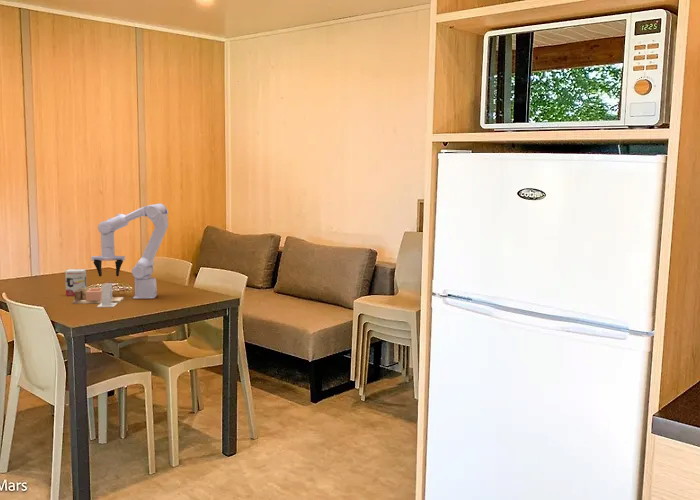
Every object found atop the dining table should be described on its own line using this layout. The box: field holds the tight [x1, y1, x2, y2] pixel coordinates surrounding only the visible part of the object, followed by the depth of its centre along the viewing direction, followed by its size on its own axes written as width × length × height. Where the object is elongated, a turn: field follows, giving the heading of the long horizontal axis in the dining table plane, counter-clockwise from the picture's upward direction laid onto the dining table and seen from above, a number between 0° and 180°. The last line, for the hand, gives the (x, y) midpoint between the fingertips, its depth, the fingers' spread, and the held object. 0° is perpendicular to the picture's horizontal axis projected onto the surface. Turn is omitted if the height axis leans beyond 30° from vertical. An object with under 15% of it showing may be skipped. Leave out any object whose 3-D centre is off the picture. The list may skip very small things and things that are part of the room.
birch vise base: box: [71, 287, 125, 305], centre depth 294 cm, size 20×8×6 cm, turn 96°
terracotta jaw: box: [86, 287, 102, 301], centre depth 293 cm, size 6×8×4 cm
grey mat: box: [96, 303, 119, 308], centre depth 286 cm, size 7×7×1 cm
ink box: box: [64, 268, 88, 297], centre depth 307 cm, size 9×5×12 cm, turn 101°
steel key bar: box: [100, 282, 113, 306], centre depth 285 cm, size 4×4×9 cm
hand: (108, 276), depth 305 cm, fingers open, 7 cm apart
